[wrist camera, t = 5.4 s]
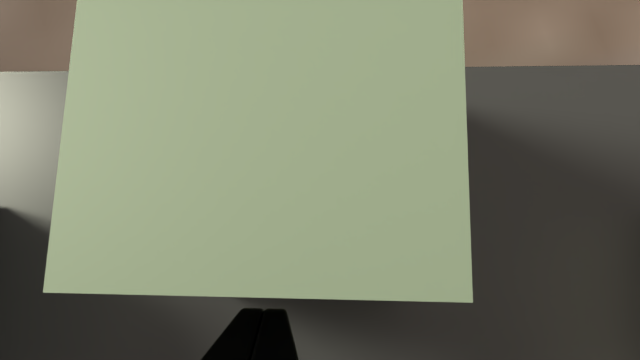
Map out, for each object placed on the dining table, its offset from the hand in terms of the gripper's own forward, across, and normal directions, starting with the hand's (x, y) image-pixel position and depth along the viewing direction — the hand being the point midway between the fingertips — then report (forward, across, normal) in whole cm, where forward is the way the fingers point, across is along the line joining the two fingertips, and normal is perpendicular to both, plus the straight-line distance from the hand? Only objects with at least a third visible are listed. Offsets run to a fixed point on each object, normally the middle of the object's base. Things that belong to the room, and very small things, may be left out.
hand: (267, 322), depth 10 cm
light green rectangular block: (+6, 0, +1) cm, 6 cm away
